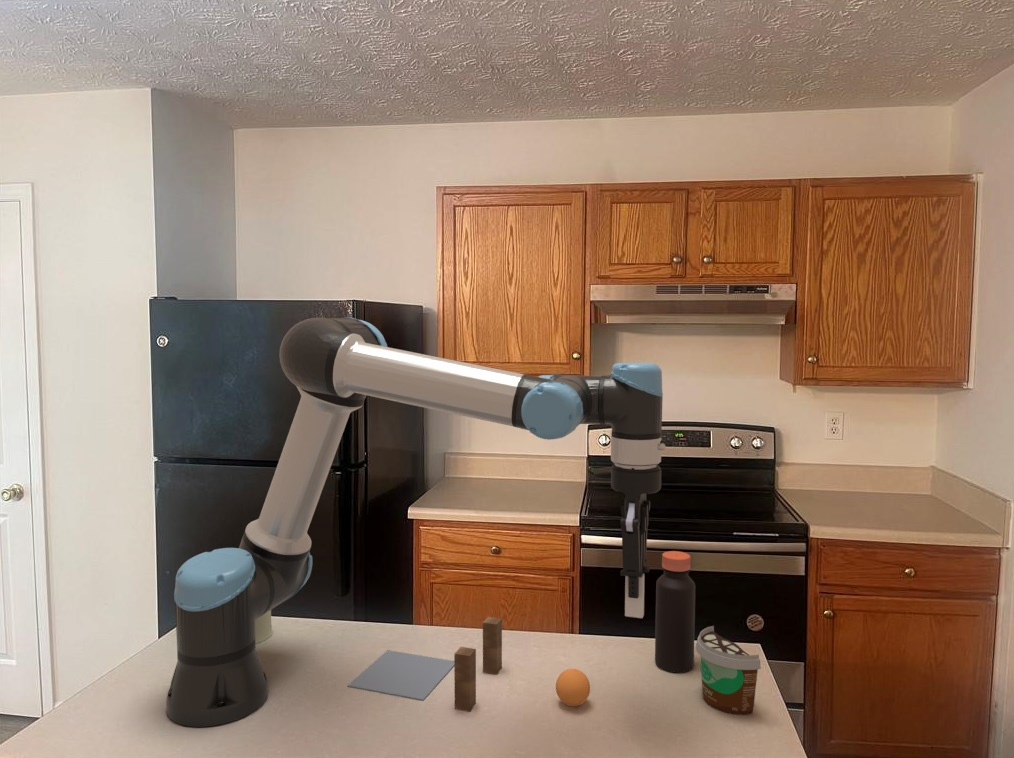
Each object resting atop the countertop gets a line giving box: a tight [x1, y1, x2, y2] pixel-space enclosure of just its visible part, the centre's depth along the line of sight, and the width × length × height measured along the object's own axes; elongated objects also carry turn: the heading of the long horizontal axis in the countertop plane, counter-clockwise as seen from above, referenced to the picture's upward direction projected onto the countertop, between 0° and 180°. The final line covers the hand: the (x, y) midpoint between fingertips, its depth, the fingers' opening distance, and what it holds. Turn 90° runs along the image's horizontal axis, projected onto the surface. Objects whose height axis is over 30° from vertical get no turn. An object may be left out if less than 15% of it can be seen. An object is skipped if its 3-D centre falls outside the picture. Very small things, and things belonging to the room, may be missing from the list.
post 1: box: [453, 646, 477, 713], centre depth 114 cm, size 3×3×9 cm
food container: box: [695, 625, 762, 716], centre depth 115 cm, size 12×6×10 cm, turn 21°
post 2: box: [482, 616, 503, 676], centre depth 126 cm, size 3×3×9 cm
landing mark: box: [347, 649, 454, 702], centre depth 125 cm, size 14×14×1 cm
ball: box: [555, 668, 591, 707], centre depth 115 cm, size 6×6×6 cm
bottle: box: [654, 550, 696, 674], centre depth 128 cm, size 7×7×20 cm
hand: (634, 615), depth 111 cm, fingers closed
